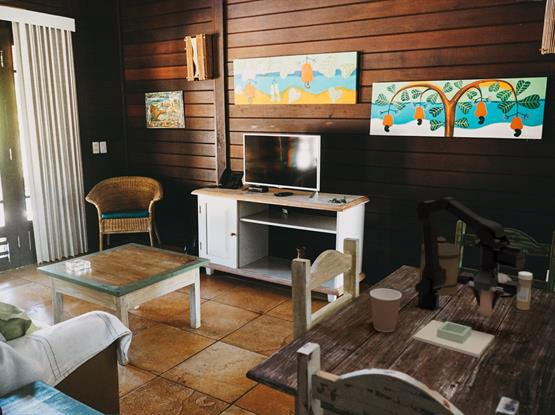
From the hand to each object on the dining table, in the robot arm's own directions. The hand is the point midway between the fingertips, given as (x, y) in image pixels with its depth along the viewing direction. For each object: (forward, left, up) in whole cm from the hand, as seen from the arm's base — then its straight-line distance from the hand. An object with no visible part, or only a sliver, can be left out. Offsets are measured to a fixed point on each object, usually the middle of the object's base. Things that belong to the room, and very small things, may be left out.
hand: (486, 307), depth 162 cm
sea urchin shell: (-6, +38, -7) cm, 39 cm away
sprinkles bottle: (+6, +26, -7) cm, 28 cm away
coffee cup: (-26, -21, -7) cm, 34 cm away
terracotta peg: (0, 0, -2) cm, 2 cm away
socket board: (-5, -15, -7) cm, 17 cm away
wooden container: (-26, +27, -7) cm, 38 cm away
